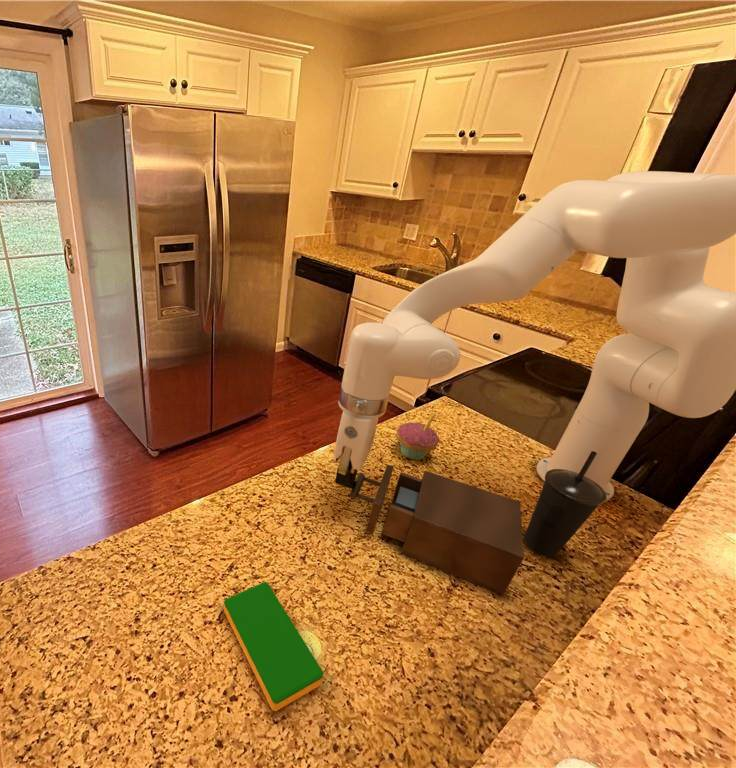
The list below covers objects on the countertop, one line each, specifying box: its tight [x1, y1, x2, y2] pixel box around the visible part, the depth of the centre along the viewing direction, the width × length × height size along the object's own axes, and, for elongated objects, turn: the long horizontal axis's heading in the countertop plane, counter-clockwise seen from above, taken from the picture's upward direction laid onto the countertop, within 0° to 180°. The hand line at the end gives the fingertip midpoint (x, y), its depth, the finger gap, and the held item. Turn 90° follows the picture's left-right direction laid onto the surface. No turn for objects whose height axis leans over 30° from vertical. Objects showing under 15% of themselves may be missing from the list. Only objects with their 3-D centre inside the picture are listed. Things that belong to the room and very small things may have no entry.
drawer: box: [348, 464, 422, 544], centre depth 72 cm, size 18×11×7 cm, turn 60°
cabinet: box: [401, 470, 525, 596], centre depth 68 cm, size 15×13×9 cm
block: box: [395, 487, 419, 512], centre depth 71 cm, size 4×4×4 cm
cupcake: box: [395, 411, 441, 461], centre depth 89 cm, size 9×8×12 cm
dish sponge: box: [223, 581, 324, 712], centre depth 54 cm, size 7×14×2 cm, turn 25°
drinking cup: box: [523, 451, 607, 558], centre depth 65 cm, size 8×8×20 cm
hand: (344, 483), depth 76 cm, fingers closed
